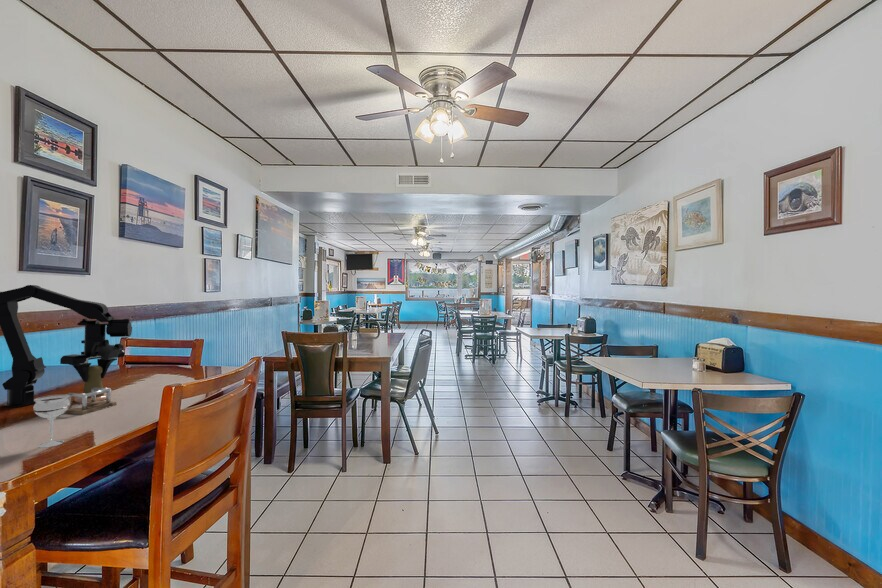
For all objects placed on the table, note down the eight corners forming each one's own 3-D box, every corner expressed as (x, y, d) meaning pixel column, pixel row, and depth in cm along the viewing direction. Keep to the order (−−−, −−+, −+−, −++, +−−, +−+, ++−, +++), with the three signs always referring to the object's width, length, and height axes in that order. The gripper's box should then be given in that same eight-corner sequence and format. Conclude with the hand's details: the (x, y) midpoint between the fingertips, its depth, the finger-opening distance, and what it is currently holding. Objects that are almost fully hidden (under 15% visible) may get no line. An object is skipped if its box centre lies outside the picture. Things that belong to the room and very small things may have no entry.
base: (59, 412, 126) (59, 409, 126) (94, 403, 136) (94, 400, 136) (83, 414, 124) (83, 411, 124) (116, 404, 135) (116, 402, 135)
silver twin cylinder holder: (64, 408, 126) (65, 393, 126) (93, 401, 135) (94, 386, 135) (83, 410, 125) (84, 394, 125) (111, 402, 134) (112, 387, 134)
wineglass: (70, 443, 101) (71, 397, 101) (32, 451, 96) (33, 402, 96) (67, 436, 106) (68, 393, 106) (31, 443, 100) (32, 397, 100)
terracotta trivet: (66, 401, 137) (67, 399, 137) (95, 394, 147) (95, 392, 147) (91, 403, 136) (91, 400, 136) (118, 396, 146) (118, 393, 146)
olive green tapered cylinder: (108, 394, 144) (108, 364, 144) (92, 398, 138) (92, 368, 138) (93, 393, 145) (93, 364, 145) (77, 398, 139) (77, 367, 139)
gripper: (87, 341, 131) (86, 387, 131) (137, 335, 150) (136, 375, 150) (59, 339, 133) (58, 385, 133) (112, 334, 151) (111, 374, 151)
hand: (93, 379), depth 142 cm, fingers open, 6 cm apart
